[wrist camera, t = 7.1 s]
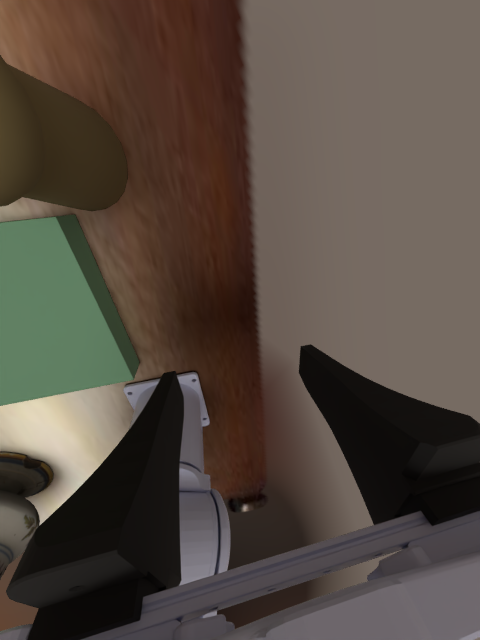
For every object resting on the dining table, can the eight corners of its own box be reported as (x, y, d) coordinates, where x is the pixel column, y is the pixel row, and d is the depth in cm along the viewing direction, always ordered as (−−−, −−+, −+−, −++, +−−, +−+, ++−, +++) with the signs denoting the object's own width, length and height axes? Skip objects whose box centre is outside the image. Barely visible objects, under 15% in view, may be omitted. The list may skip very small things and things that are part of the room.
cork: (63, 65, 12) (-441, -450, 2) (147, 174, 15) (66, 129, 5) (-6, 141, 13) (-567, -24, 3) (87, 229, 16) (-72, 272, 6)
